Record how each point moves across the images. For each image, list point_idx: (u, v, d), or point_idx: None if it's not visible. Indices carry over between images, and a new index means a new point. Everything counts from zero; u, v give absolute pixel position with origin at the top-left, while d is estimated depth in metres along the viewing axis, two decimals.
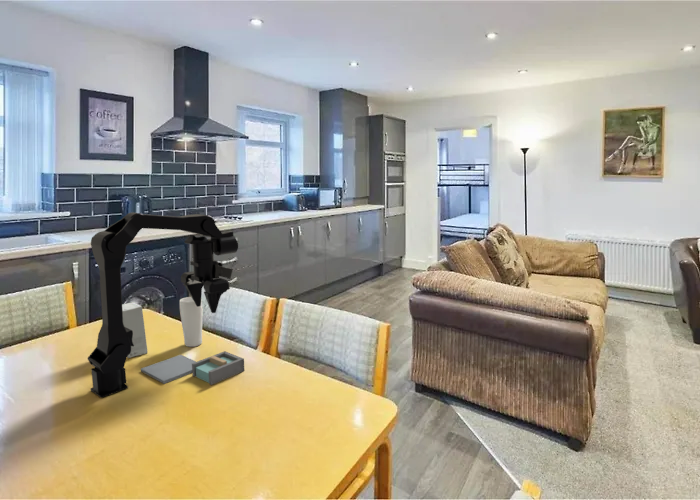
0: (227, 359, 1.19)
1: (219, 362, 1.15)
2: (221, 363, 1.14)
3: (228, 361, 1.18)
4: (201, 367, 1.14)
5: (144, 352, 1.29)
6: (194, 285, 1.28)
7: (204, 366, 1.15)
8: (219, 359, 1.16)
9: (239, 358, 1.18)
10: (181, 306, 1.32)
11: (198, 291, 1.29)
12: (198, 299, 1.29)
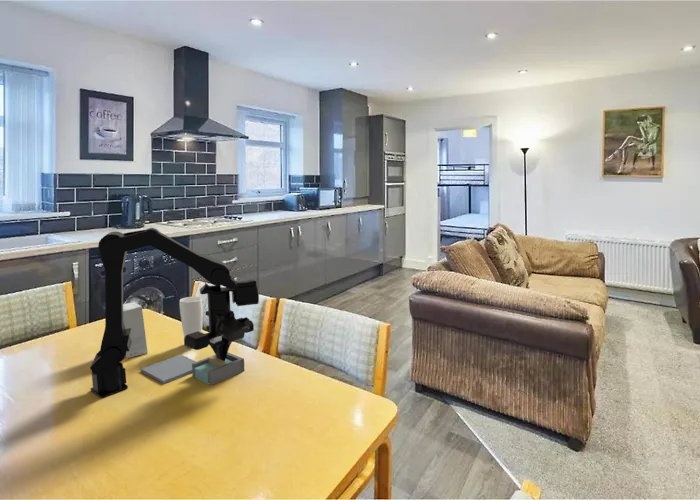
0: (226, 360, 1.19)
1: (218, 363, 1.14)
2: (220, 364, 1.14)
3: (227, 362, 1.18)
4: (200, 368, 1.14)
5: (144, 352, 1.29)
6: (221, 338, 1.17)
7: (203, 367, 1.15)
8: (218, 360, 1.15)
9: (239, 358, 1.18)
10: (181, 306, 1.32)
11: (223, 346, 1.17)
12: None
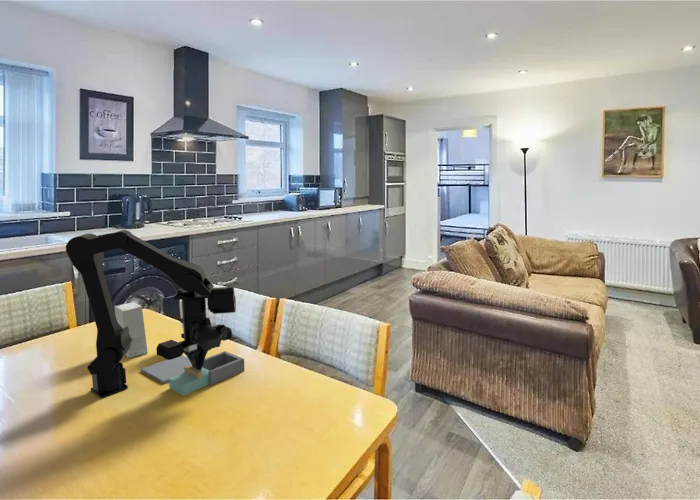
0: (203, 369, 1.13)
1: (194, 373, 1.09)
2: (196, 374, 1.08)
3: (204, 371, 1.12)
4: (175, 378, 1.08)
5: (144, 352, 1.29)
6: (197, 346, 1.11)
7: (178, 377, 1.09)
8: (194, 369, 1.09)
9: (239, 358, 1.18)
10: (181, 306, 1.32)
11: (199, 355, 1.11)
12: None
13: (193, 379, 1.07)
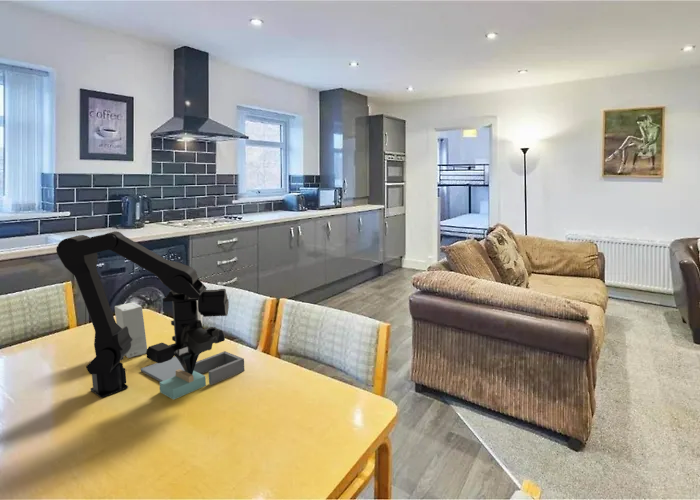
0: (195, 373, 1.11)
1: (185, 376, 1.07)
2: (187, 378, 1.06)
3: (196, 375, 1.10)
4: (165, 382, 1.06)
5: (144, 352, 1.29)
6: (188, 349, 1.09)
7: (169, 381, 1.07)
8: (185, 373, 1.07)
9: (239, 358, 1.18)
10: None
11: (190, 358, 1.09)
12: None
13: (184, 383, 1.05)
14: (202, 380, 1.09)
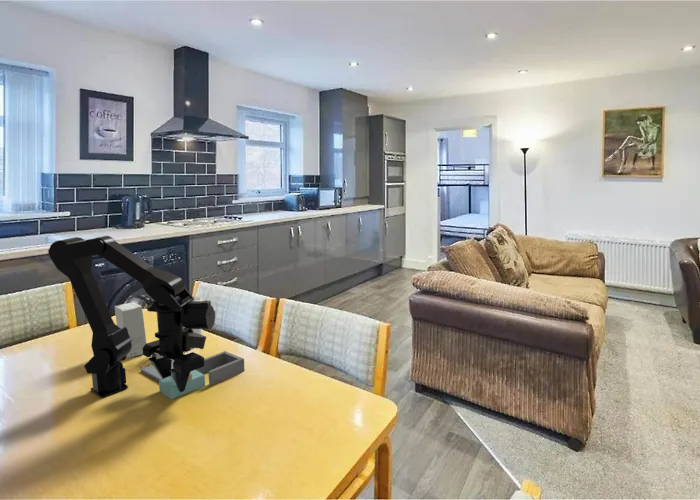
0: (195, 371, 1.11)
1: None
2: None
3: (195, 374, 1.10)
4: (164, 380, 1.06)
5: None
6: (162, 360, 1.07)
7: (168, 379, 1.07)
8: None
9: (239, 358, 1.18)
10: None
11: (167, 366, 1.08)
12: (167, 376, 1.08)
13: None
14: (201, 379, 1.09)
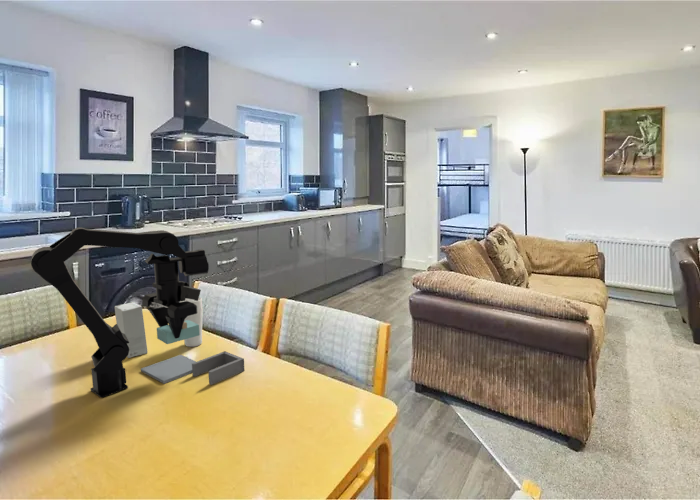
0: (190, 322, 1.19)
1: None
2: None
3: (190, 324, 1.18)
4: (162, 328, 1.15)
5: (144, 352, 1.29)
6: (160, 309, 1.16)
7: (165, 327, 1.15)
8: None
9: (239, 358, 1.18)
10: None
11: (164, 316, 1.16)
12: (164, 324, 1.16)
13: None
14: (196, 328, 1.17)
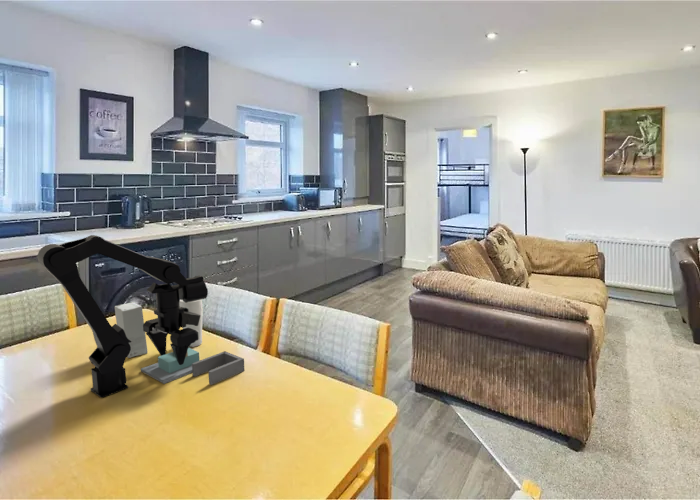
0: (190, 349, 1.23)
1: None
2: None
3: (190, 351, 1.22)
4: (163, 356, 1.18)
5: (144, 352, 1.29)
6: (158, 334, 1.20)
7: (166, 355, 1.19)
8: None
9: (239, 358, 1.18)
10: (181, 306, 1.32)
11: (162, 340, 1.21)
12: (163, 348, 1.21)
13: None
14: (196, 356, 1.21)
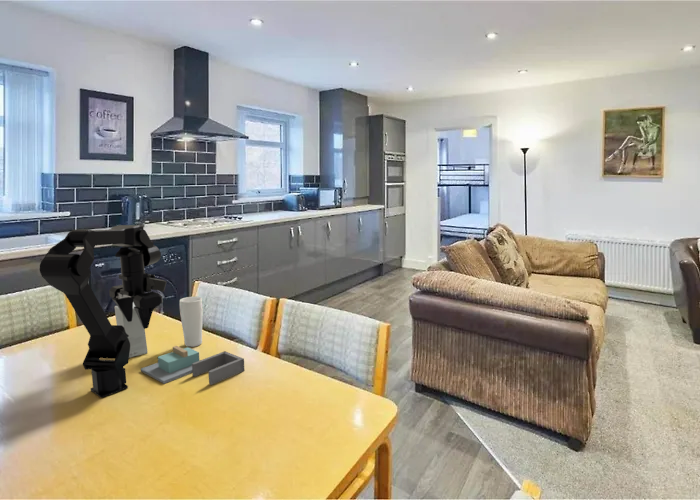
0: (190, 349, 1.23)
1: (180, 352, 1.19)
2: (182, 353, 1.18)
3: (190, 351, 1.22)
4: (163, 356, 1.18)
5: (144, 352, 1.29)
6: (124, 299, 1.21)
7: (166, 355, 1.19)
8: (181, 349, 1.19)
9: (239, 358, 1.18)
10: (181, 306, 1.32)
11: (129, 305, 1.22)
12: (129, 314, 1.22)
13: (179, 358, 1.17)
14: (196, 356, 1.21)
